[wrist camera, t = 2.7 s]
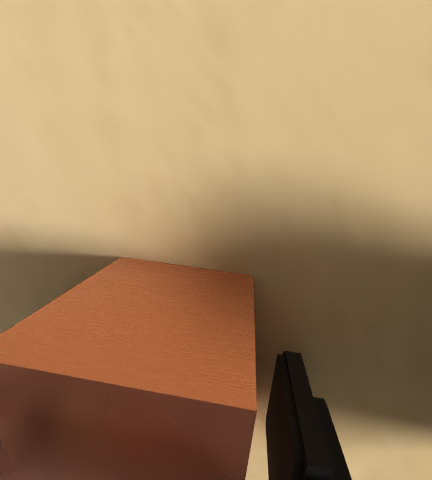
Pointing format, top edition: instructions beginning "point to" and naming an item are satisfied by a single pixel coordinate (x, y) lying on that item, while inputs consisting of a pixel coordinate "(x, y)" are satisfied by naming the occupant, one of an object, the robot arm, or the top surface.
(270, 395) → the robot arm
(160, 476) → the terracotta rectangular block
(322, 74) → the top surface
